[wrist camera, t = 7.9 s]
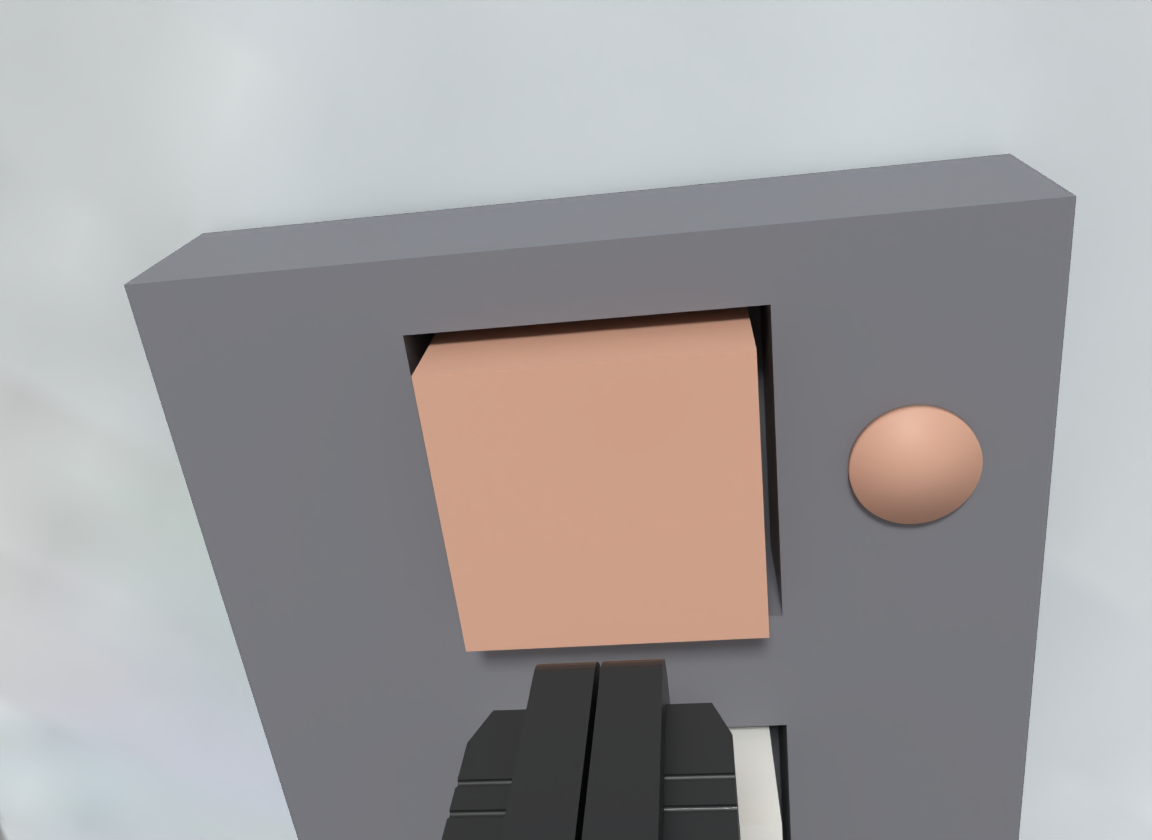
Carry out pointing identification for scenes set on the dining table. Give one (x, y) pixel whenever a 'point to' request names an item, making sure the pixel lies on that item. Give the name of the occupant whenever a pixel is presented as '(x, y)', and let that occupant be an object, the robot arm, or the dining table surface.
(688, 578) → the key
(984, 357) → the keypad
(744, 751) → the key middle
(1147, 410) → the dining table surface
